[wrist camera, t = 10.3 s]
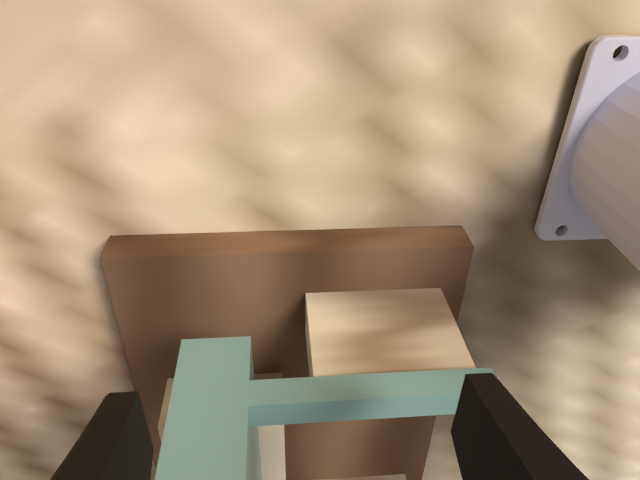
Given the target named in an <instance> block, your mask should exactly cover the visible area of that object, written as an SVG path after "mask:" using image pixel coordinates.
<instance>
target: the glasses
mask: <svg viewBox="0 0 640 480" xmlns="http://www.w3.org/2000/svg"><path fill="white" fill-rule="evenodd" d="M476 373H493V374H494V375H495V373H494V371H493V369H492V367H484V368H465V369H447V370H429V371H411V372H392V373H374V374H356V375H337V376H319V377H301V378H283V379H264V380H254V368H253V356H252V343H251V336H243V337H222V338H201V339H182V340H181V345H180V350H179V355H178V361H177V366H176V371H175V376H174V381H173V387H172V392H171V397H170V402H169V407H168V412H167V418H166V423H165V428H164V433H163V438H162V444H161V449H160V454H159V459H158V464H157V470H156V475H155V480H262V468H261V456H260V443H259V431H258V426H270V425H286V424H302V423H318V422H335V421H351V420H367V419H383V418H399V417H415V416H432V415H448V414H455V413H456V409H457V405H458V401H459V397H460V393H461V390H462V386H463V382H464V378H465V374H476ZM495 376H496V375H495ZM496 378H497V377H496Z"/></svg>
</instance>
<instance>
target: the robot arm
mask: <svg viewBox="0 0 640 480" xmlns="http://www.w3.org/2000/svg"><path fill="white" fill-rule="evenodd" d="M619 46H622V51H621V52H620V54H619V55H618V56H617V57H616V58H613V53H614V51H615V49H616V48H618V47H619ZM563 225H564V226H563ZM560 226H563V227H562V229H560V230H558V231H556V230H557V228H558V227H560ZM534 231H535V233H536V235H537V236H538V237H539V238H540V239H541V240H544V241H557V240H589V239H608V240H609V241H610V242H611V243H612V244H613V245H614V246H615V247H616V248H617V249H618V250H619V251H620V252H621V253H622V254H623V255H624V256H625V257H626V258H627V259H628V260H629V261H630V262H631V263H632V264H633V265H634V266H635V267H636V268H637V269H638V270H639V271H640V35H604V36H600V37H598V38H596V39H595V40H594V41H593V42H592V43H591V44H590V45H589V47H588V49H587V51H586V55H585V58H584V62H583V65H582V68H581V72H580V75H579V78H578V82H577V85H576V89H575V92H574V95H573V99H572V102H571V106H570V109H569V112H568V116H567V119H566V122H565V126H564V129H563V133H562V136H561V139H560V143H559V146H558V150H557V153H556V156H555V160H554V163H553V166H552V170H551V173H550V177H549V180H548V183H547V187H546V190H545V194H544V197H543V200H542V204H541V207H540V210H539V214H538V217H537V221H536V224H535V229H534ZM451 434H452V438H453V443H454V447H455V451H456V455H457V459H458V463H459V467H460V471H461V475H462V478H463V480H589V479H588V478H587V477H586V476H585V475H584V474H583V473H582V472H581V471H580V470H579V469H578V468H577V467H576V466H575V465H574V464H573V463H572V462H571V461H570V460H569V459H568V458H567V456H566V455H565V454H564V453H563V452H562V451H561V450H560V449H559V448H558V447H557V446H556V445H555V444H554V443H553V442H552V440H551V439H550V438H549V437H548V436H547V435H546V434H545V433H544V432H543V431H542V429H541V428H540V427H539V426H538V425H537V424H536V423H535V422H534V420H533V419H532V418H531V417H530V416H529V415H528V414H527V412H526V411H525V410H524V409H523V408H522V407H521V406H520V404H519V403H518V402H517V401H516V400H515V399H514V397H513V396H512V395H511V394H510V393H509V392H508V390H507V389H506V388H505V387H504V386H503V385H502V383H501V382H500V381H499V380H498V379H497V378H496V376H495V375H494V374H493V373H476V374H465V378H464V382H463V386H462V390H461V393H460V397H459V401H458V405H457V409H456V413H455V417H454V421H453V425H452V429H451ZM153 452H154V449H153V445H152V441H151V437H150V434H149V430H148V426H147V422H146V418H145V414H144V410H143V407H142V403H141V399H140V395H139V391H137V392H119V393H109V394H108V395H107V396H106V397H105V398H104V399H103V401H102V403H101V404H100V406H99V408H98V409H97V411H96V412H95V414H94V416H93V417H92V419H91V420H90V422H89V423H88V425H87V426H86V428H85V430H84V431H83V433H82V434H81V436H80V437H79V439H78V440H77V442H76V443H75V445H74V446H73V448H72V449H71V451H70V452H69V454H68V455H67V457H66V458H65V459H64V461H63V462H62V464H61V465H60V466H59V468H58V469H57V471H56V472H55V473H54V475H53V476H52V478H51V479H50V480H150V476H151V468H152V460H153Z"/></svg>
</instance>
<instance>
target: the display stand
mask: <svg viewBox="0 0 640 480" xmlns="http://www.w3.org/2000/svg"><path fill="white" fill-rule="evenodd" d="M473 247H474V246H473V244H472V243H471V241H470V239H469V238H468V236H467V234H466V232H465V231H464V229H463V227H462V226H438V227H403V228H369V229H334V230H299V231H264V232H229V233H194V234H159V235H124V236H110V238H109V240H108V243H107V245H106V247H105V249H104V251H103V253H102V256H101V258H100V259H101V263H102V267H103V271H104V274H105V278H106V282H107V286H108V290H109V293H110V297H111V301H112V305H113V308H114V312H115V316H116V320H117V324H118V327H119V331H120V335H121V339H122V342H123V346H124V350H125V354H126V357H127V361H128V365H129V369H130V373H131V376H132V380H133V384H134V388H135V391H136V392H137V391H139V395H140V399H141V403H142V407H143V410H144V414H145V418H146V422H147V426H148V430H149V434H150V437H151V441H152V445H153V449H154V452H153V459H154V463H155V467H156V470H157V464H158V459H159V454H160V449H161V444H162V438H163V433H164V428H165V423H166V418H167V412H168V407H169V402H170V397H171V392H172V387H173V381H174V376H175V371H176V366H177V361H178V355H179V350H180V345H181V340H182V339H201V338H222V337H243V336H251V343H252V356H253V368H254V380H264V379H283V378H301V377H319V376H337V375H356V374H374V373H392V372H411V371H429V370H447V369H465V368H476V367H475V365H474V362H473V360H472V358H471V356H470V353H469V351H468V349H467V347H466V344H465V342H464V340H463V337H462V335H461V333H460V331H459V328H458V326H457V324H456V323H457V319H458V314H459V310H460V305H461V301H462V297H463V292H464V288H465V283H466V279H467V274H468V270H469V265H470V261H471V256H472V252H473ZM435 417H436V415H432V416H415V417H399V418H383V419H367V420H351V421H335V422H318V423H302V424H286V425H270V426H258V431H259V443H260V456H261V468H262V480H422V475H423V471H424V466H425V462H426V457H427V453H428V449H429V444H430V440H431V435H432V431H433V426H434V422H435Z"/></svg>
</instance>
